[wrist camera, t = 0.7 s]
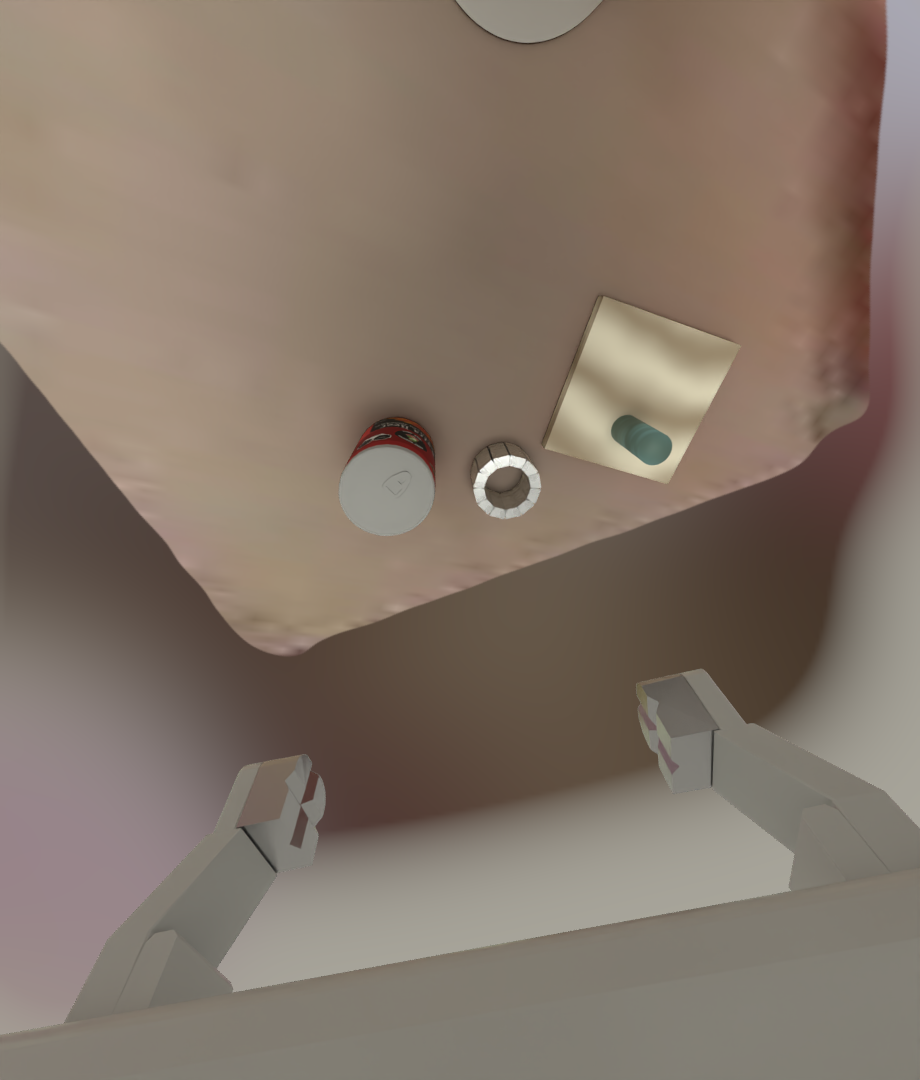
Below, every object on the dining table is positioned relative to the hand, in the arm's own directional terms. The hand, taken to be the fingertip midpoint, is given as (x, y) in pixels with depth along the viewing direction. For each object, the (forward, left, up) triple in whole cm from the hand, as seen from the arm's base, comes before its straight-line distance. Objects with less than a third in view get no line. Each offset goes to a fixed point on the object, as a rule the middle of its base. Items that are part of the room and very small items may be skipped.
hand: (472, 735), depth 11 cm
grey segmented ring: (+5, +8, -38) cm, 39 cm away
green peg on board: (-6, +18, -38) cm, 42 cm away
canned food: (+6, -3, -38) cm, 39 cm away
